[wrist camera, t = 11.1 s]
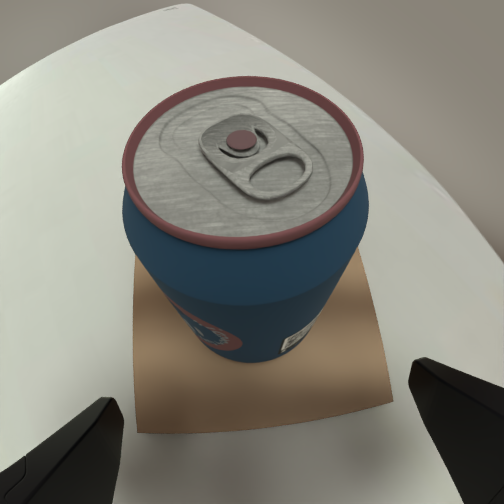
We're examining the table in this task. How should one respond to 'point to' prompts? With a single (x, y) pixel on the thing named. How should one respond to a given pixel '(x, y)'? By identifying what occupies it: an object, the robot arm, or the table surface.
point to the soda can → (245, 209)
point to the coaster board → (256, 367)
